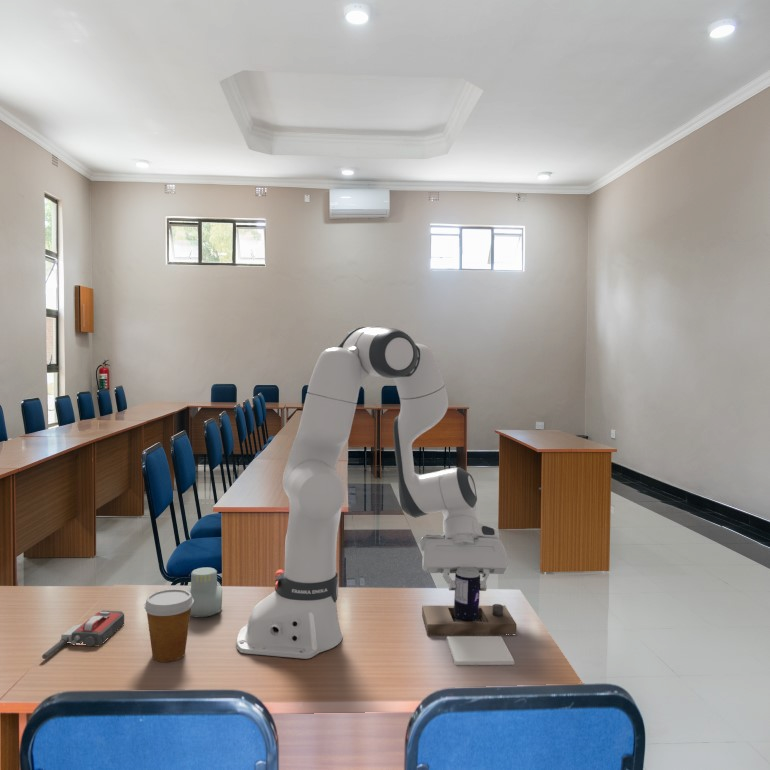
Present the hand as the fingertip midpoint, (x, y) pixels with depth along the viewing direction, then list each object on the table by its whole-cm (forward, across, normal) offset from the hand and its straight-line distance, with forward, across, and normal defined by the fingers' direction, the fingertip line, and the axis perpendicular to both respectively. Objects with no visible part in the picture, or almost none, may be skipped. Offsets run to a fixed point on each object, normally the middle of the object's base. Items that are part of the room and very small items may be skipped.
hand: (467, 589), depth 141 cm
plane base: (+6, 0, +7) cm, 9 cm away
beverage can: (+5, 0, +6) cm, 8 cm away
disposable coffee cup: (+16, -64, -2) cm, 66 cm away
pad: (+15, 0, -3) cm, 15 cm away
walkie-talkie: (+11, -83, +3) cm, 84 cm away
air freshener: (+1, -62, +13) cm, 63 cm away
